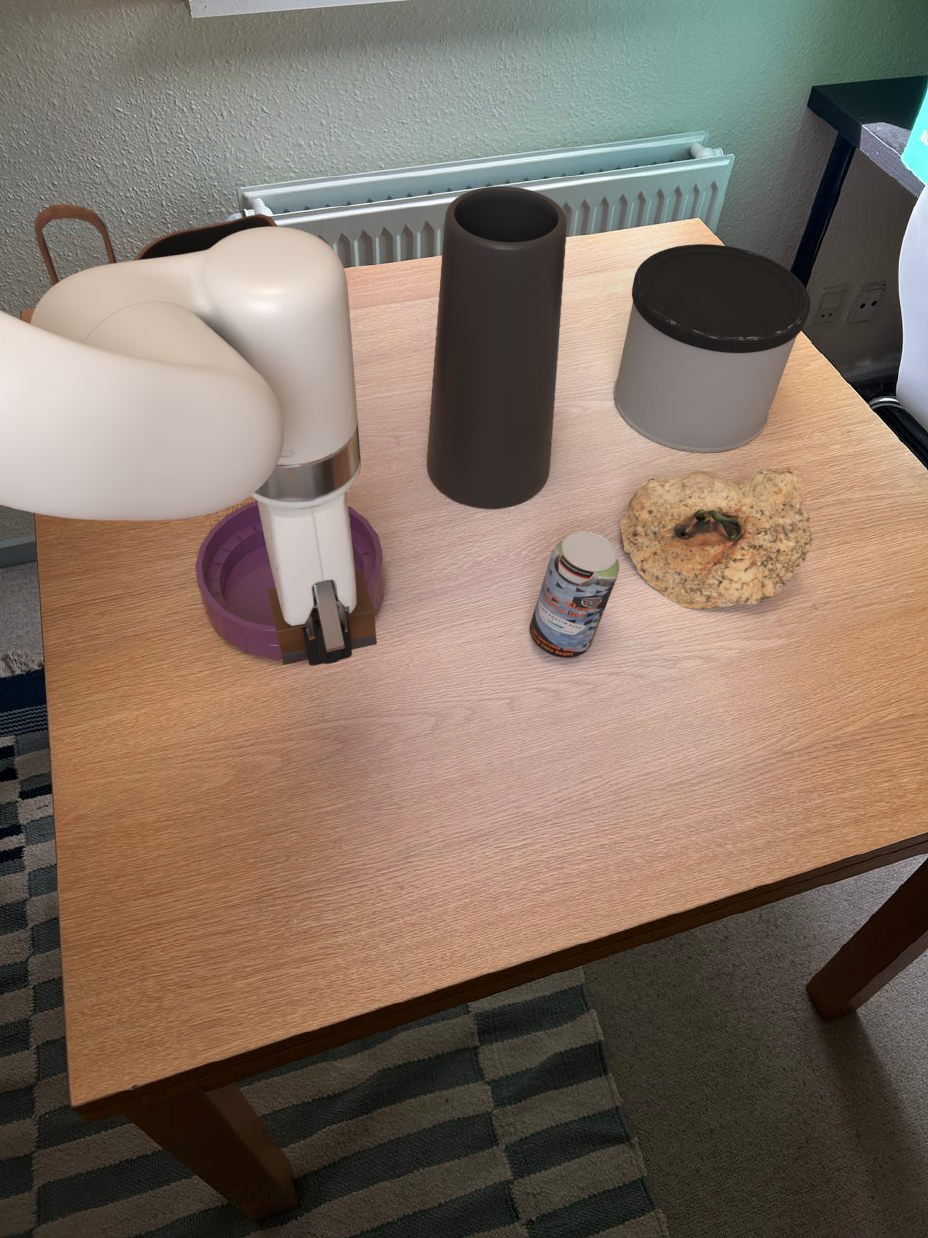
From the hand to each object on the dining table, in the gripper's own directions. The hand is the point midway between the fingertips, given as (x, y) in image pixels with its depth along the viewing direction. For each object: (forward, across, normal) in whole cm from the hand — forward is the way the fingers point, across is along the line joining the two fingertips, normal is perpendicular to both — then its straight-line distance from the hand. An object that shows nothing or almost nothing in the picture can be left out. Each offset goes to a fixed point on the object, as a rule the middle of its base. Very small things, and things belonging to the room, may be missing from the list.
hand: (323, 632), depth 68 cm
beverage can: (+15, -5, +23) cm, 28 cm away
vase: (+15, -29, +23) cm, 40 cm away
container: (+15, -34, +50) cm, 62 cm away
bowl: (+14, -17, -1) cm, 22 cm away
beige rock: (+15, -10, +40) cm, 44 cm away
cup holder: (+15, -48, -5) cm, 50 cm away
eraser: (0, 0, 0) cm, 0 cm away
